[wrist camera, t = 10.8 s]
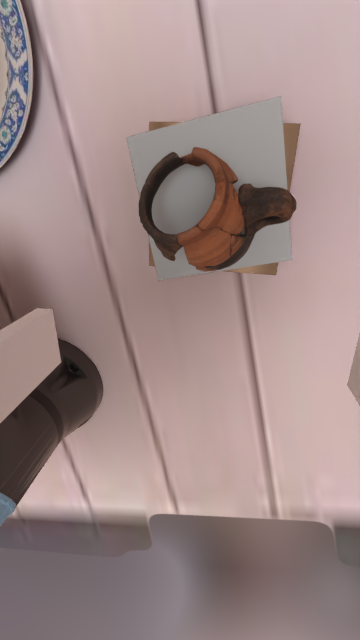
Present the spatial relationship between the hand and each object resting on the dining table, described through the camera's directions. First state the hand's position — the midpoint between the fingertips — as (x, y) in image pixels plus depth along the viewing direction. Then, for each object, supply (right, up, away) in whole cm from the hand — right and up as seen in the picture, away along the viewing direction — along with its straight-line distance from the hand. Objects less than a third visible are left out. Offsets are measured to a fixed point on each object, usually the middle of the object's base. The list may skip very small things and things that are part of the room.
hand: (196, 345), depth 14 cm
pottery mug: (+3, +11, +15) cm, 19 cm away
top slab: (+3, +13, +18) cm, 23 cm away
